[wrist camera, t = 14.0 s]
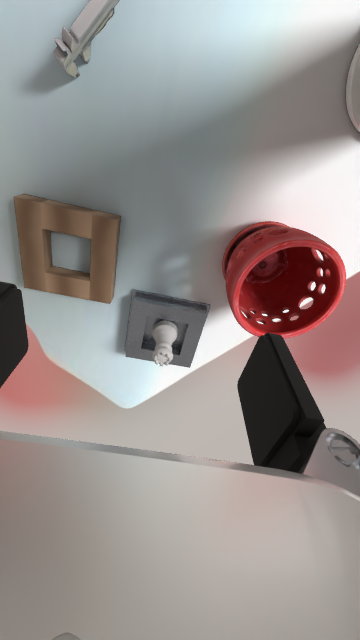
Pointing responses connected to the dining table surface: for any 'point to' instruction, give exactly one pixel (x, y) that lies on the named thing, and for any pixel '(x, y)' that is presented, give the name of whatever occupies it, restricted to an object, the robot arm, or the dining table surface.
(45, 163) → the dining table surface
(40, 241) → the socket block
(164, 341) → the rook chess piece
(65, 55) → the caliper
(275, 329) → the plant pot
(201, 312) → the holder
